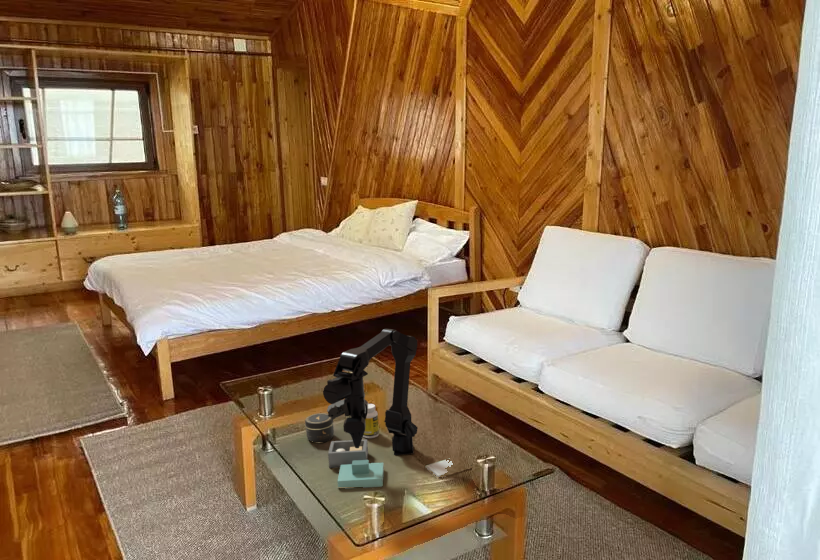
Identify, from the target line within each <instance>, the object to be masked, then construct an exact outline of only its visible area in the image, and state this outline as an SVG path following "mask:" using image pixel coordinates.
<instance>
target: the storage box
mask: <svg viewBox="0 0 820 560" xmlns="http://www.w3.org/2000/svg"><path fill="white" fill-rule="evenodd" d="M327 456H328V457H327V458H328V467H329V469H330V468H331V469H336V468H338V469H339V468H340V466H341V465H347V464H352V461H355V460H369V459H368V458H369V446H368V438H364V439H362V440H361V443H360V446H359V448H355V446H354V443H353V440H352V439H349V440H335V441H334V440H332V441H330V445H329V449H328V453H327Z"/></svg>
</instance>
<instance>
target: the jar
mask: <svg viewBox="0 0 820 560" xmlns="http://www.w3.org/2000/svg"><path fill="white" fill-rule="evenodd" d="M304 422H305V423H304V424H305V425H304V426H305V434H306V438H307V440H308V441H309V440H310V441H313V442H323V443H327V442H329V441H330V440H332V439H333V437H334V434H335V433H334V432H335V428H334V419H333V420H331V418H330V417H329V416H328V412H327V413H325V412H319V413H313V414H311V415H309V416H307V417H305V420H304ZM310 441H309V442H310Z"/></svg>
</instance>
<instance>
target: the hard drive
mask: <svg viewBox="0 0 820 560" xmlns="http://www.w3.org/2000/svg"><path fill="white" fill-rule="evenodd" d="M448 462H449V460H447V461H446V459H443V460H440V461H436V462H432V463H430V464H426V465H425V469H426V468H427V469H426V470H427V471H429V470H430V471H432V472H433V474H435V475H436V476H437V477H440V476H441V475H444V474H445V473H447V472H448V471H447V469H445V468H447V467H448V466H449V467H451V465H453V463H452V461H450V462H449V463H448ZM430 471H429V472H430ZM433 474H432V475H433ZM435 475H434V476H435ZM436 476H435V477H436ZM437 477H436V478H437Z"/></svg>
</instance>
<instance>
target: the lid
mask: <svg viewBox="0 0 820 560" xmlns="http://www.w3.org/2000/svg"><path fill="white" fill-rule="evenodd" d="M384 468H385V467H384V462H371V463H370V460H369V459H367V460H355V461H352V464H347V465H341V466H340V467H339V471H338V472H339V473H338V477H337V488H338V487H363V488H378V487H383V483H384V471H385V469H384Z"/></svg>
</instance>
